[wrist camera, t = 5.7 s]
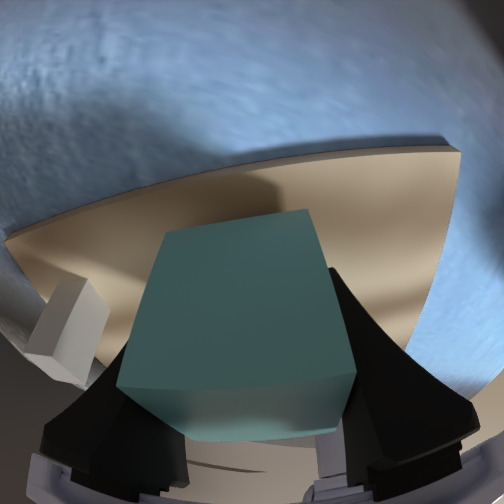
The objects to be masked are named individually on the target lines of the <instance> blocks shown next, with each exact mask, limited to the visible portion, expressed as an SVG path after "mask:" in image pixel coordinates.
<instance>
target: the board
mask: <svg viewBox="0 0 504 504" xmlns="http://www.w3.org/2000/svg"><path fill="white" fill-rule="evenodd" d="M460 160H461V151H459V150H458V149H456V148H454V147H453V146H399V147H380V148H366V149H354V150H343V151H333V152H324V153H316V154H308V155H300V156H293V157H286V158H280V159H273V160H267V161H261V162H255V163H250V164H244V165H239V166H233V167H228V168H223V169H218V170H214V171H209V172H204V173H200V174H195V175H191V176H187V177H183V178H178V179H174V180H170V181H166V182H162V183H158V184H155V185H151V186H147V187H144V188H140V189H136V190H133V191H129V192H126V193H123V194H119V195H116V196H113V197H109V198H106V199H103V200H100V201H97V202H94V203H91V204H88V205H85V206H82V207H79V208H76V209H73V210H70V211H67V212H65V213H62V214H59V215H56V216H54V217H51V218H49V219H46V220H43V221H41V222H38V223H36V224H33V225H31V226H28V227H26V228H24V229H21V230H19V231H16V232H14V233H12V234H10V235H9V236H8V238H7V239H6V240H5V241H4V243H5V245H6V247H7V248H8V250H9V251H10V253H11V255H12V256H13V258H14V259H15V261H16V262H17V264H18V265H19V267H20V268H21V270H22V271H23V273H24V274H25V275H26V277H27V278H28V280H29V281H30V282H31V284H32V285H33V286H34V288H35V289H36V290H37V292H38V293H39V294H40V296H41V297H42V298H43V299H44V301H45V302H46V303H48V301H49V299H50V297H51V295H52V294H53V292H54V290H55V288H56V286H57V285H58V283H64V282H71V281H78V280H84V279H88V280H89V281H90V283H91V284H92V286H93V287H94V288H95V290H96V291H97V293H98V294H99V296H100V297H101V298H102V300H103V301H104V302H105V304H106V305H107V306H108V308H109V309H110V310H111V311H110V314H109V316H108V319H107V321H106V324H105V327H104V330H103V332H102V335H101V338H100V341H99V343H98V346H97V349H96V352H95V355H94V356H95V357H96V358H97V359H98V360H99V361H100V362H101V363H102V364H103V365H105V366H106V367H108V366H109V365H110V364H111V362H112V361H113V360H114V359H115V357H116V356H117V355H118V353H119V352H120V350H121V349H122V348H123V346H124V345H125V344H126V342H127V341H128V339H129V336H130V333H131V330H132V326H133V323H134V320H135V317H136V314H137V311H138V307H139V304H140V301H141V298H142V295H143V293H144V290H145V287H146V284H147V281H148V278H149V276H150V273H151V270H152V267H153V265H154V262H155V259H156V257H157V254H158V251H159V249H160V246H161V244H162V241H163V239H164V236H165V234H166V232H170V231H175V230H180V229H186V228H191V227H197V226H202V225H208V224H213V223H219V222H225V221H231V220H237V219H243V218H249V217H255V216H261V215H268V214H274V213H281V212H287V211H294V210H301V209H308V211H309V213H310V216H311V219H312V222H313V225H314V228H315V230H316V233H317V236H318V239H319V242H320V245H321V248H322V251H323V254H324V257H325V260H326V263H327V267H328V268H330V267H334V268H335V269H336V270H337V272H338V273H339V275H340V276H341V278H342V279H343V281H344V282H345V284H346V285H347V286H348V288H349V289H350V290H351V292H352V293H353V295H354V296H355V297H356V298H357V300H358V301H359V302H360V303H361V305H362V306H363V307H364V308H365V310H366V311H367V312H368V313H369V314H370V316H371V317H372V318H373V319H374V320H375V321H376V323H377V324H378V325H379V326H380V327H381V328H382V329H383V330H384V331H385V333H386V334H387V335H388V336H389V337H390V338H391V339H392V340H393V341H394V342H395V343H396V344H397V345H398V346H399V347H400V348H401V349H402V350H403V351H404V350H405V348H406V346H407V344H408V342H409V340H410V337H411V335H412V333H413V331H414V328H415V326H416V324H417V321H418V319H419V317H420V314H421V312H422V309H423V307H424V304H425V301H426V299H427V296H428V293H429V291H430V288H431V285H432V282H433V279H434V276H435V273H436V270H437V267H438V264H439V260H440V257H441V253H442V250H443V246H444V243H445V239H446V235H447V231H448V227H449V223H450V218H451V214H452V209H453V204H454V199H455V194H456V188H457V182H458V175H459V168H460Z"/></svg>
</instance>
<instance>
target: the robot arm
mask: <svg viewBox="0 0 504 504" xmlns="http://www.w3.org/2000/svg"><path fill="white" fill-rule="evenodd" d="M328 270H329V273H330V276H331V279H332V283H333V286H334V289H335V292H336V296H337V299H338V303H339V306H340V310H341V313H342V317H343V320H344V324H345V327H346V331H347V335H348V339H349V342H350V346H351V350H352V354H353V358H354V362H355V366H356V370H357V373H356V376H355V379H354V382H353V385H352V388H351V391H350V394H349V397H348V400H347V403H346V406H345V409H344V411H343V414H342V417H341V419H340V422H339V424H338V427H337V430H336V431H334V432H329V433H323V434H317V435H315V443H316V453H317V463H318V473H319V479H321V480H315V481H314V485H311V486H310V487H309V489H308V490H307V491H306V493H305V495H304V497H303V502H301V503H291V504H493V503H494V502H496V501H497V500H498V499H500V498H501V497H502V496H503V495H504V431H502V432H501V433H499V434H498V435H496V436H494V437H492V438H489V439H488V440H486V441H484V442H482V443H480V444H479V445H477V446H475V447H473V448H471V449H470V450H468V451H466V452H464V453H462V455H461V456H460V454H459V451H460V450H462V444H461V440H463V439H465V438H466V437H468V436H470V435H472V434H474V433H475V432H477V431H478V430H479V429H480V423H479V419H478V416H477V413H476V411H475V409H474V406H473V404H472V402H470V401H469V400H467V399H465V398H464V397H462V396H461V395H459V394H458V393H456V392H455V391H453V390H452V389H450V388H449V387H447V386H446V385H445V384H443V383H442V382H440V381H439V380H438V379H436V378H435V377H434V376H433V375H431V374H430V373H429V372H428V371H426V370H425V369H424V368H423V367H422V366H420V365H419V364H418V363H417V362H416V361H414V360H413V359H412V358H411V357H410V356H409V355H408V354H407V353H406V352H405V351H403V350H402V349H401V348H400V347H399V346H398V345H397V344H396V343H395V342H394V341H393V340H392V339H391V338H390V337H389V336H388V335H387V334H386V333H385V331H384V330H383V329H382V328H381V327H380V326H379V325H378V324H377V323H376V321H375V320H374V319H373V318H372V317H371V316H370V314H369V313H368V312H367V311H366V310H365V308H364V307H363V306H362V305H361V303H360V302H359V301H358V300H357V298H356V297H355V296H354V295H353V293H352V292H351V290H350V289H349V288H348V286H347V285H346V284H345V282H344V281H343V279H342V278H341V276H340V275H339V273H338V272H337V270H336V269H335V268H334V267H330V268H328ZM128 340H129V339H128ZM127 343H128V341H127V342H126V344H125V345H124V346H123V348H122V349H121V350H120V352H119V353H118V355H117V356H116V357H115V359H114V360H113V361H112V362H111V364H110V365H109V366H108V367H107V368H106V370H105V371H104V372H103V373H102V374H101V375H100V377H99V378H98V379H97V380H96V381H95V382H94V383H93V384H92V385H91V386H90V387H89V388H88V389H87V390H86V391H85V393H83V394H82V395H81V396H80V397H79V398H78V399H77V400H76V401H75V402H74V403H72V404H71V405H70V406H69V407H68V408H67V409H65V410H64V411H63V412H62V413H60V414H59V415H58V416H56V417H55V418H54V419H52V420H51V421H50V422H48V423H47V424H45V427H44V431H43V436H42V440H41V445H40V450H39V451H40V453H42V454H43V455H45V456H47V457H50V458H52V459H54V460H56V461H58V462H60V463H63V464H65V465H67V466H70V467H72V469H70V468H68V467H65V466H62V465H60V464H56V463H54V462H52V461H49V460H47V459H45V458H43V457H41V456H39V455H37V454H35V453H33V454H32V458H31V464H30V470H29V476H28V483H27V493H26V495H27V496H28V497H29V498H30V499H32V500H33V501H35V502H36V503H37V504H209V503H199V502H191V501H183V500H176V499H170V498H165V497H160V491H165V492H169V486H171V487H178V488H185V487H186V486H188V485H189V484H190V482H189V476H188V469H187V462H186V452H185V438H184V434H182V433H180V432H179V431H177V430H176V429H174V428H172V427H171V426H169V425H168V424H166V423H165V422H163V421H162V420H160V419H159V418H157V417H156V416H155V415H153V414H152V413H150V412H149V411H148V410H146V409H145V408H143V407H142V406H141V405H139V404H138V403H137V402H135V401H134V400H133V399H131V398H130V397H129V396H128V395H126V394H125V393H124V392H122V391H121V390H120V389H119V388H118V387H116V384H117V380H118V376H119V372H120V368H121V364H122V361H123V357H124V353H125V350H126V346H127ZM323 478H326V479H323Z"/></svg>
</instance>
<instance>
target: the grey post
mask: <svg viewBox="0 0 504 504" xmlns="http://www.w3.org/2000/svg"><path fill="white" fill-rule="evenodd" d="M110 311H111V310H110V309H109V308H108V306H107V305H106V304H105V302H104V301H103V300H102V298H101V297H100V296H99V294H98V293H97V291H96V290H95V288H94V287H93V286H92V284H91V283H90V281H89V280H88V279H84V280H78V281H71V282H64V283H58V285H57V286H56V288H55V290H54V292H53V294H52V295H51V297H50V299H49V301H48V303H47V304H46V306H45V308H44V310H43V312H42V314H41V316H40V318H39V320H38V322H37V324H36V326H35V328H34V330H33V332H32V334H31V336H30V339H29V341H28V343H27V345H26V347H25V350H24V352H23V353H24V354H25V355H26V356H27V357H28V358H29V359H30V360H32V361H33V362H34V363H35V364H36V365H37V366H38V367H39V368H41V369H42V370H43V371H44V372H46V373H47V374H48V375H49V376H50V377H51V378H53V379H54V380H58V381H64V382H69V383H75V384H81V385H85V384H86V381H87V377H88V374H89V371H90V368H91V364H92V361H93V358H94V355H95V352H96V349H97V346H98V343H99V341H100V338H101V335H102V332H103V330H104V327H105V324H106V321H107V319H108V316H109V314H110Z"/></svg>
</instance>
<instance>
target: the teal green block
mask: <svg viewBox="0 0 504 504" xmlns="http://www.w3.org/2000/svg"><path fill="white" fill-rule="evenodd" d="M356 373H357V370H356V366H355V362H354V358H353V354H352V350H351V346H350V342H349V339H348V335H347V331H346V327H345V324H344V320H343V317H342V313H341V310H340V306H339V303H338V299H337V296H336V292H335V289H334V286H333V283H332V279H331V276H330V273H329V270H328V267H327V263H326V260H325V257H324V254H323V251H322V248H321V245H320V242H319V239H318V236H317V233H316V230H315V228H314V225H313V222H312V219H311V216H310V213H309V211H308V209H301V210H294V211H287V212H281V213H274V214H268V215H261V216H255V217H249V218H243V219H237V220H231V221H225V222H219V223H213V224H208V225H202V226H197V227H191V228H186V229H180V230H175V231H170V232H166V234H165V236H164V239H163V241H162V244H161V246H160V249H159V251H158V254H157V257H156V259H155V262H154V265H153V267H152V270H151V273H150V276H149V278H148V281H147V284H146V287H145V290H144V293H143V295H142V298H141V301H140V304H139V307H138V311H137V314H136V317H135V320H134V323H133V326H132V330H131V333H130V336H129V340H128V343H127V346H126V350H125V353H124V357H123V361H122V364H121V368H120V372H119V376H118V380H117V384H116V387H118V388H119V389H120V390H121V391H122V392H124V393H125V394H126V395H128V396H129V397H130V398H131V399H133V400H134V401H135V402H137V403H138V404H139V405H141V406H142V407H143V408H145V409H146V410H148V411H149V412H150V413H152V414H153V415H155V416H156V417H157V418H159V419H160V420H162V421H163V422H165V423H166V424H168V425H169V426H171V427H172V428H174V429H176V430H177V431H179V432H180V433H182V434H184V435H185V436H187V437H189V438H190V439H192V440H194V441H221V442H222V441H224V442H229V441H260V440H274V439H285V438H294V437H303V436H310V435H317V434H323V433H329V432H334V431H336V430H337V427H338V424H339V422H340V419H341V417H342V414H343V411H344V409H345V406H346V403H347V400H348V397H349V394H350V391H351V388H352V385H353V382H354V379H355V376H356Z"/></svg>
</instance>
